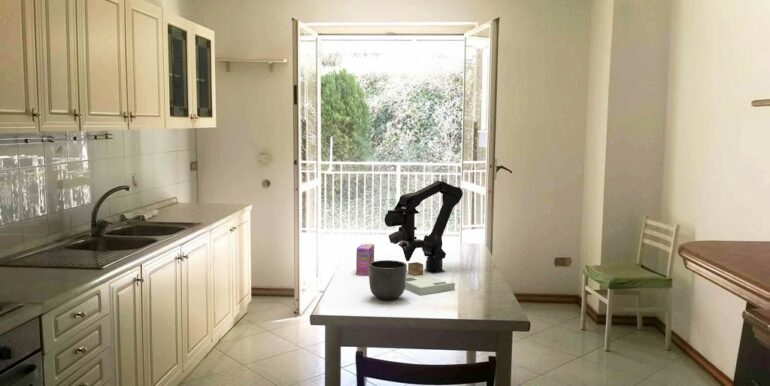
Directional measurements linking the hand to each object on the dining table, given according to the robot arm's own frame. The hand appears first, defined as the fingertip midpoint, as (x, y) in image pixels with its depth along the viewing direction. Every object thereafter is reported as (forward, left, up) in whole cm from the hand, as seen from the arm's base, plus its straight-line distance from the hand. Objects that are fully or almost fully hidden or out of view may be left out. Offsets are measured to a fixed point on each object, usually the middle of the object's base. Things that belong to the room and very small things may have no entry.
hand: (407, 261), depth 261 cm
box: (+13, -13, -7) cm, 20 cm away
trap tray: (+4, +16, -6) cm, 18 cm away
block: (0, +7, -4) cm, 8 cm away
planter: (+25, +27, -7) cm, 37 cm away
